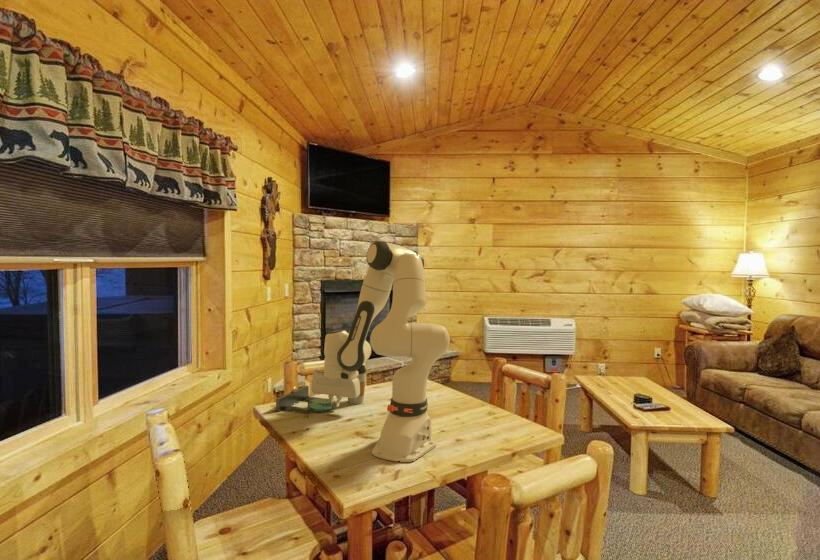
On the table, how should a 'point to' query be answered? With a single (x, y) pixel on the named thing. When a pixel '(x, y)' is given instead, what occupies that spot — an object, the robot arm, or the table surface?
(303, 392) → the cradle
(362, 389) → the coffee cup
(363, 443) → the table surface
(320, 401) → the cover disc
